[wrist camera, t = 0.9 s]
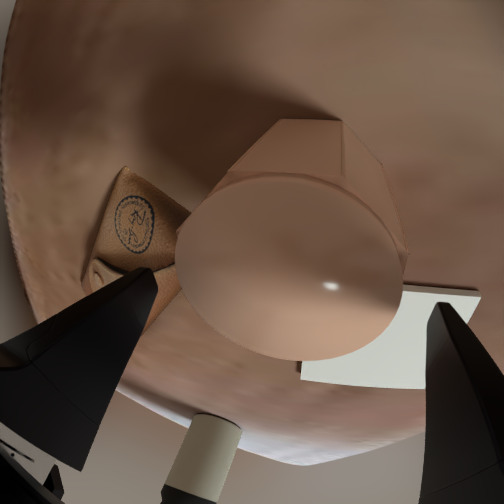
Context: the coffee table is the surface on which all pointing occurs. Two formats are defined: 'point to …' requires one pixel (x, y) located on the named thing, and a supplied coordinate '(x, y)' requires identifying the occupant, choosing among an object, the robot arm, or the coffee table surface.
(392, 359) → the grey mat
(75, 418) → the robot arm
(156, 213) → the sunglasses case
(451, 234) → the coffee table surface
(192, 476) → the travel mug
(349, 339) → the terracotta cup
